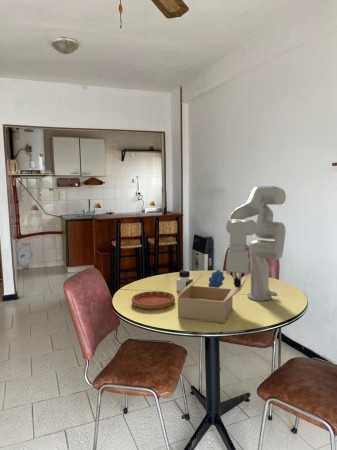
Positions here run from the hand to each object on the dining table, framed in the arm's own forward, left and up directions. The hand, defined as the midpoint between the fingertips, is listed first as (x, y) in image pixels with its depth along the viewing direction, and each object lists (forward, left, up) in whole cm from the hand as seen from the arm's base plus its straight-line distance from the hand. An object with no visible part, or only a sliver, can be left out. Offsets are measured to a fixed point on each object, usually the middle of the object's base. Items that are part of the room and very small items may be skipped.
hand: (237, 286), depth 161 cm
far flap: (+23, -1, -2) cm, 23 cm away
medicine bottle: (+36, -32, -15) cm, 51 cm away
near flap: (+1, -1, -1) cm, 2 cm away
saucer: (+45, -6, -15) cm, 48 cm away
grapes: (+19, -39, -15) cm, 46 cm away
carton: (+15, -1, -15) cm, 21 cm away
